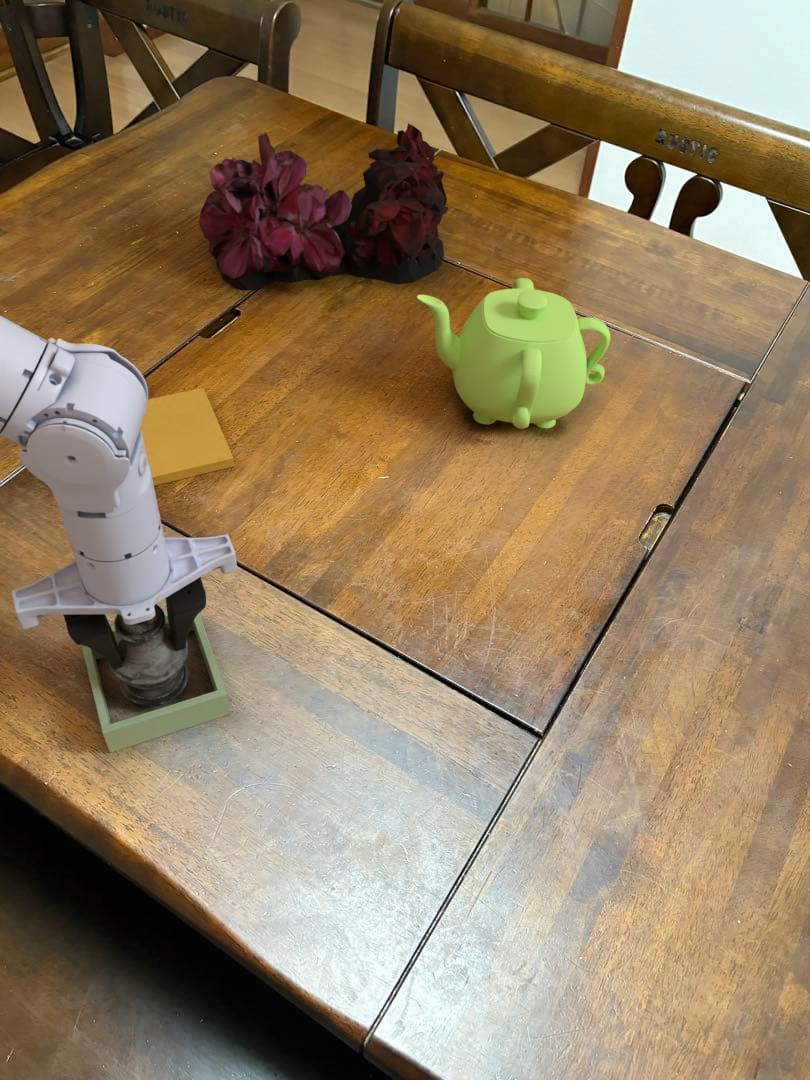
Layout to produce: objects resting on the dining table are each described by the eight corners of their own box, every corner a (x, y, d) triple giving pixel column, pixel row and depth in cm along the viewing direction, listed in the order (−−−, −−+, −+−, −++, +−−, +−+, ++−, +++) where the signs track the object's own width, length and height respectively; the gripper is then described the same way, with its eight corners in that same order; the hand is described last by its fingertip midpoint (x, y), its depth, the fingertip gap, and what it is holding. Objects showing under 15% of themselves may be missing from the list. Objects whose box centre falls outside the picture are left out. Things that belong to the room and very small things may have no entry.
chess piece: (118, 717, 69) (87, 623, 60) (112, 653, 72) (82, 556, 63) (197, 701, 70) (178, 607, 61) (187, 639, 74) (168, 542, 65)
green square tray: (109, 753, 68) (102, 733, 66) (86, 656, 73) (78, 634, 71) (230, 714, 71) (227, 693, 68) (199, 623, 76) (195, 601, 74)
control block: (88, 510, 84) (81, 487, 81) (65, 426, 91) (58, 403, 88) (237, 473, 88) (235, 451, 85) (204, 396, 95) (201, 373, 93)
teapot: (494, 471, 90) (513, 370, 81) (407, 392, 97) (415, 290, 88) (608, 411, 97) (638, 311, 88) (519, 341, 104) (538, 242, 95)
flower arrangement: (413, 198, 124) (421, 84, 112) (479, 277, 112) (495, 159, 101) (186, 236, 114) (170, 116, 103) (233, 327, 103) (220, 203, 91)
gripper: (3, 607, 53) (55, 723, 64) (244, 543, 58) (256, 661, 68) (-12, 522, 58) (39, 645, 68) (214, 468, 62) (230, 591, 72)
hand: (146, 648), depth 68 cm, fingers closed on chess piece, 4 cm apart
